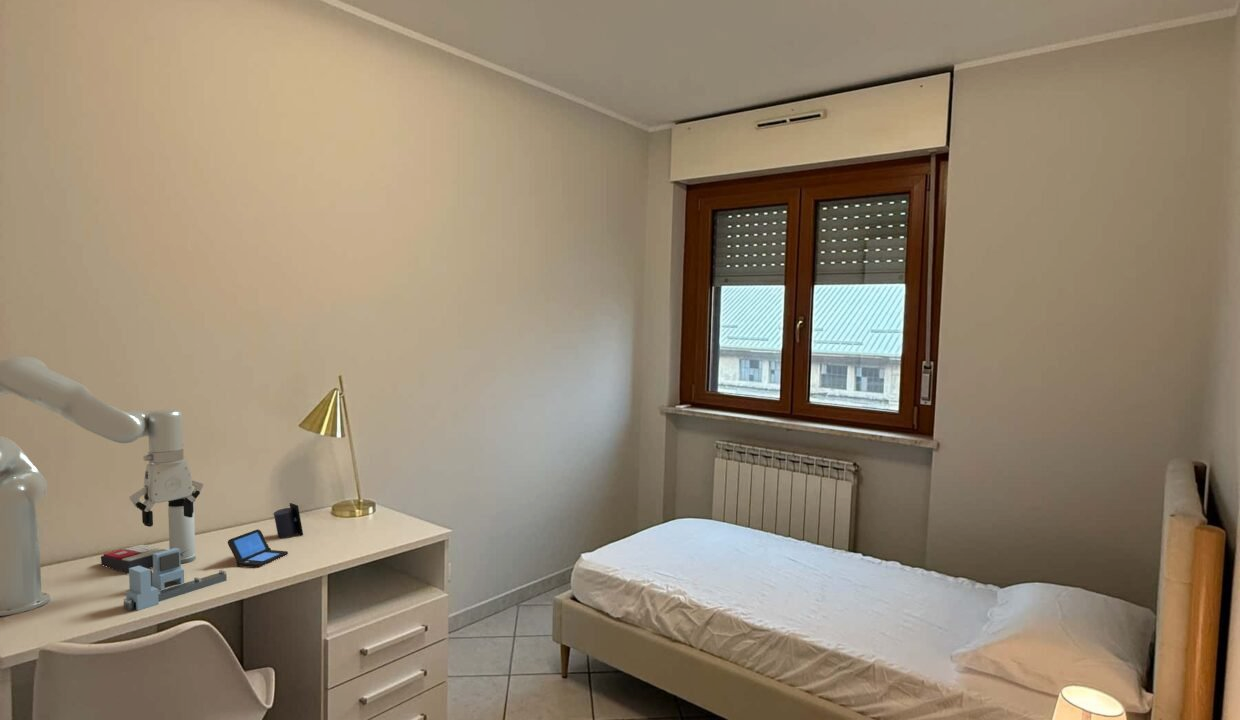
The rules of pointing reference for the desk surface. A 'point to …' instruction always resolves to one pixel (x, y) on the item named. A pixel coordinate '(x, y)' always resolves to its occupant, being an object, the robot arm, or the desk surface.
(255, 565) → the handheld game console
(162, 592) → the rail
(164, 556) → the notched grey block
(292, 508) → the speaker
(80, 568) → the desk surface
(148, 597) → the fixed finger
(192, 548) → the travel mug
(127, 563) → the calculator
